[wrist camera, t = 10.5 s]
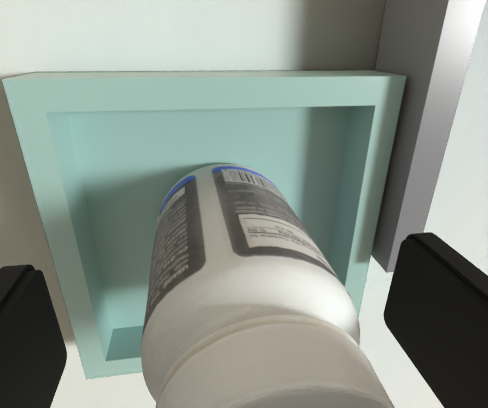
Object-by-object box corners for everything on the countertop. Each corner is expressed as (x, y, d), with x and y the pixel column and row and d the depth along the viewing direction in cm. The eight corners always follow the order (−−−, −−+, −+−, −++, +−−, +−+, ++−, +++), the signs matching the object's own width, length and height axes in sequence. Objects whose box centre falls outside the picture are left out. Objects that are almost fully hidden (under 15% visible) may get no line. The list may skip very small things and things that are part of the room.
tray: (36, 71, 10) (1, 79, 8) (369, 70, 12) (406, 76, 10) (99, 334, 15) (86, 379, 13) (332, 308, 16) (353, 345, 14)
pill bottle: (190, 289, 14) (199, 586, 6) (134, 191, 12) (44, 465, 4) (300, 245, 14) (441, 493, 6) (263, 138, 12) (411, 320, 4)
